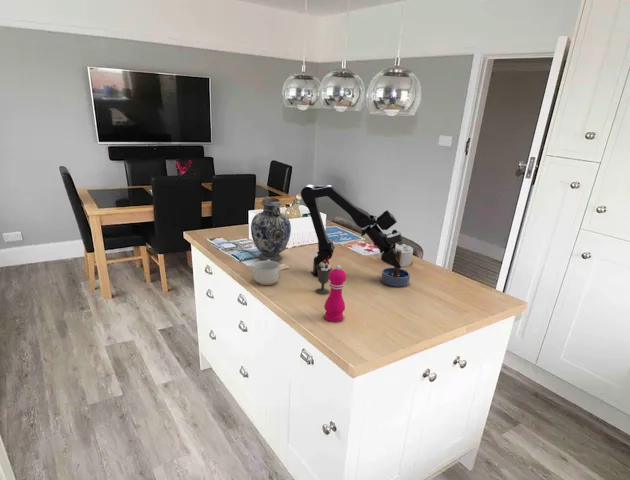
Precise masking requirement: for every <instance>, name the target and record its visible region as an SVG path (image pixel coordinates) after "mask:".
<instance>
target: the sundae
mask: <svg viewBox="0 0 630 480" xmlns="http://www.w3.org/2000/svg"><path fill="white" fill-rule="evenodd" d="M329 257H330V256H328V257H327V258H329ZM316 270H317V271H318V276H317V279H318V282H319V283H320V284H321V286H320V288H317V289H316V293H317V294H320V295H327V294H329V293H330V291H329V290H328V289H327V288H325V285H326V284H327V283H328V282H329V281H330V280H329V273H330V271H331V270H333V267H332V266H331V263H330V260H328V261H327V262H326V259H325V260H323V261H322V262H321V263H320V264H319V265H318V264H317V267H316Z"/></svg>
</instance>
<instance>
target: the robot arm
mask: <svg viewBox="0 0 630 480" xmlns="http://www.w3.org/2000/svg"><path fill="white" fill-rule="evenodd" d="M300 197H301V199H302V201H303V203H304V205H305V206H306V207H307V209H308V212H309V215H310V218H311V221H312V225H313V228H314V232H315V235H316V238H317V247H318V248H317V249H318V251H317V252H316V253H315V255H314V257H313V263H312V264H313V266H312V270H311V273H312V274H313V275H314V277H318V271H317V270H316V267H317V264H318V265H319V264H320V263H321V262H322V261H323V260H325V259H326V262H327V261H330V259H332V257H333V254H334V252H335V248H336V247H335V245H334V242H333V238H331V239H329V237H328V236H327V233H326V229H325V225H324V222H323V218H322V215H321V212H320V207H319V202H318V201H319V200H318V198H324V197H325V198H326V197H328V198H329V199H330V200H331V201H333V202H334V203H335V204H336V205H338V206H339V207H340V208H341V209H342V210H344V211H345V212H346V213H347V214H348V215H349V216H350V218H351V219H352V220H353V222H354V223H355V224H356V225H357V227H359V228H361V234H360V236H361V237H363V236H365V235H366V236H367V237H368V238H369V239H370V241H371V242H372V243H373V246H374V247H376V248H377V249H378V250H379V253H380V254H381V255H380V260H381V261H382V262H383V263H385V264H388V265H391V266H393V267H394V266H395V267H397V268H399V269H402V267H401V265H400V264H399V262H398V260H397V258H396V250H395V246H396V244H397V243H400V242H403V236H402V233H401V231H399V230H397V229H395V228H394V229H392V230H391V233H390V234H387V233H384V232H383V231H388V230H389V229H390V228H392V226H395V224H396V223H398V220H397V219H396V218H395V216H394V215H393V213H391V212H390V211H389V210H388V209H385V210H384V211H383V212H382V213H381V214H380V215H378V216H376V215H373V214H370V213H369V212H368V211H366V210H364V209H362V208H360V207H358V206H357V205H355V204H354V203H352V202H351V201H350V200H349V199H348V198H346V197H345V196H344V195H343V194H342V193H340V191H338V190H337V189H336V188H335V187H334V186H333V185H332V184H328V185H313V184H307V185H305V186H304V187H302V189H301V190H300ZM328 256H330V257H329V258H327V257H328Z"/></svg>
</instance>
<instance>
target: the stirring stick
mask: <svg viewBox="0 0 630 480" xmlns="http://www.w3.org/2000/svg"><path fill="white" fill-rule="evenodd" d="M401 253H402V251H401V250H397V251H396V258H397V260H398V262H399V264H400V259H401ZM393 268H394V271H393V273H392V274H391V276H392V277H400V275H399V274H398V272H399V268H397V267H395V266H393Z"/></svg>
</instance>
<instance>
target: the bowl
mask: <svg viewBox="0 0 630 480" xmlns="http://www.w3.org/2000/svg"><path fill="white" fill-rule="evenodd" d="M393 271H394V267H385V268H383V269H381V275H380V281H381V282H382V283H383V284H385V285H387V286H390V287H394V288H395V287H396V288H400V287H406V286H408V285H409V283H410V278H411V273H410V272H409V271H408V270H405V269H402V268H400V269H399V272H398V274H399V275H400V277H392V276H391V274H392V273H393Z"/></svg>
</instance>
